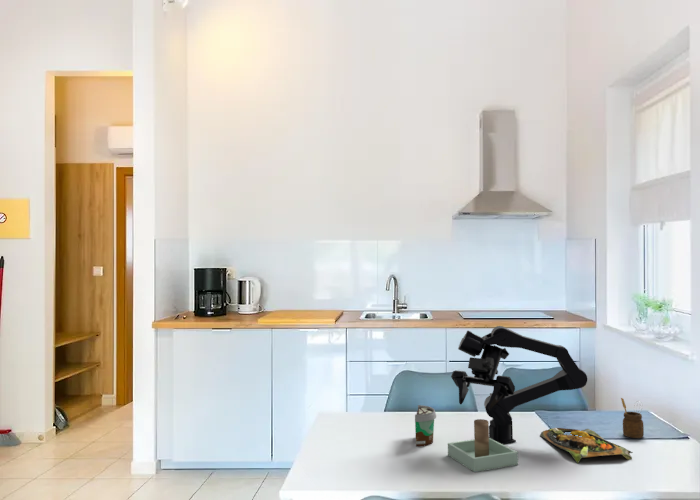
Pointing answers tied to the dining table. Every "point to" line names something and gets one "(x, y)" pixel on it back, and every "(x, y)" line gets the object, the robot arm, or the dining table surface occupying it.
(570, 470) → the dining table surface
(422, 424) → the food container
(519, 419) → the dining table surface
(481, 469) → the box
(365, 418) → the dining table surface
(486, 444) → the walnut handle
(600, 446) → the prepared meal
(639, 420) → the utensil holder
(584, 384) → the robot arm
